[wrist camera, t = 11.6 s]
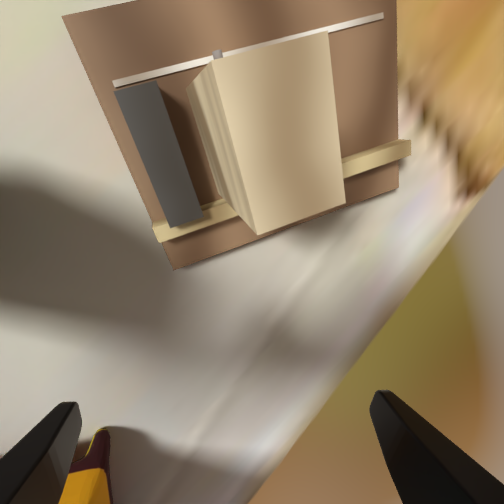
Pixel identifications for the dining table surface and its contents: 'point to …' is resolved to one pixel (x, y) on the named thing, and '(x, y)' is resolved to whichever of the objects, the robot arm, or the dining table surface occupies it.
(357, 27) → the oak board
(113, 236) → the dining table surface
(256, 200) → the cream rectangular block
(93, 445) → the decorative lantern
